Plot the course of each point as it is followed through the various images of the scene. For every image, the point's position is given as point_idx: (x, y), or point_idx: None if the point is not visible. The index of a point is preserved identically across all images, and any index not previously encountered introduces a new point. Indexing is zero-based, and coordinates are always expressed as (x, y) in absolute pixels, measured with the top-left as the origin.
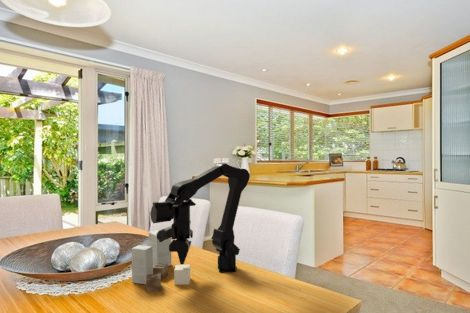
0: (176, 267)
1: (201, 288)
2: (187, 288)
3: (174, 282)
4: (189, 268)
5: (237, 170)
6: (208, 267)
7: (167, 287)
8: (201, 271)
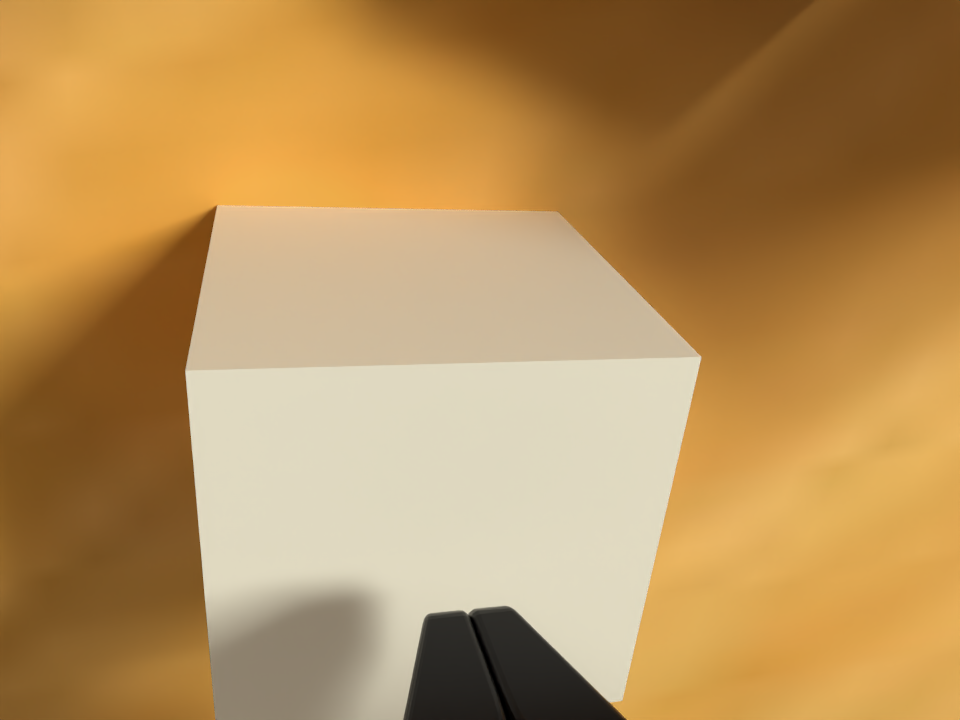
0: (460, 402)
1: (41, 709)
2: (19, 499)
3: (214, 227)
4: (378, 716)
5: None
6: (886, 664)
7: (38, 48)
8: (769, 600)
